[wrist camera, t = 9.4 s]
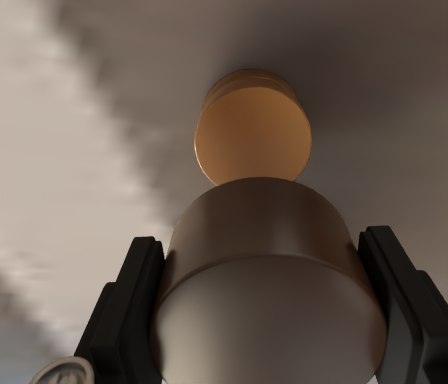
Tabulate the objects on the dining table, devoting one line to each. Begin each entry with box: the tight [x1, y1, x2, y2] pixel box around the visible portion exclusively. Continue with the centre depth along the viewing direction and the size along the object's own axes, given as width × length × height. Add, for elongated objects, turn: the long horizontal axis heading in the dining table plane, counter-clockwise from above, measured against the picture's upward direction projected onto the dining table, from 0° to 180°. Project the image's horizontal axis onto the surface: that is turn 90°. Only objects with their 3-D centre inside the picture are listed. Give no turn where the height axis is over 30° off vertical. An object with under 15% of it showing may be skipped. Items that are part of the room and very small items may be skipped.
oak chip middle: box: [195, 77, 312, 186], centre depth 21 cm, size 6×6×2 cm
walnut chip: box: [148, 177, 388, 384], centre depth 11 cm, size 6×6×4 cm
